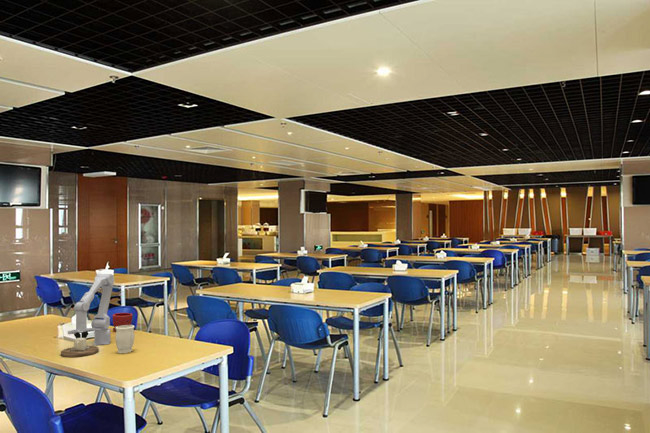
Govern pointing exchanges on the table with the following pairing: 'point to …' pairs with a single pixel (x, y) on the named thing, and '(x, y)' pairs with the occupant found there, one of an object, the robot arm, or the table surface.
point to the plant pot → (121, 319)
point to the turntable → (79, 351)
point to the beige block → (79, 343)
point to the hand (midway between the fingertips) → (80, 344)
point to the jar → (124, 338)
